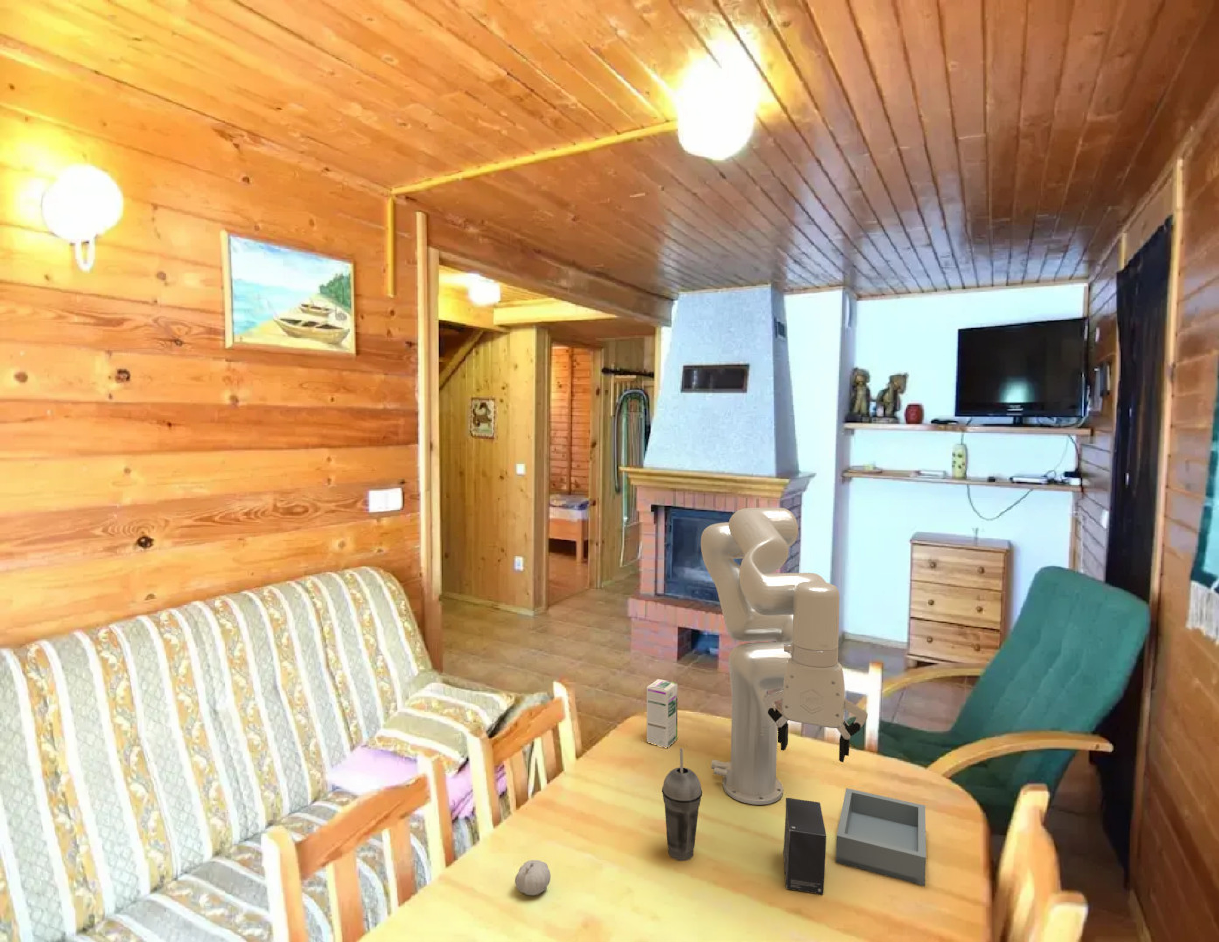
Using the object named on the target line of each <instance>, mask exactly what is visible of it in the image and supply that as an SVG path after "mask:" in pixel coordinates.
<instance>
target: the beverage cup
mask: <svg viewBox="0 0 1219 942" xmlns="http://www.w3.org/2000/svg"><path fill="white" fill-rule="evenodd" d="M661 792H662V797H663V798H662V800H663V803H664V812H665V828H666V829H665V830H666V842H667V849H668V855H669V856H670V858H671V859H674V860H675V861H676V860H677V861H682V862H683V861H687V860H691V859H692V858H693V856H694V849H695V846H696V844H695V843H696V842H695V841H696V834H697V825H698V817H699V807H700V805H701V802H702V796H703V790H702V784H701V781H700V779H699V777H698V775H697V774H696V773H695V772H694V771H693V770H691V769H690V768H688V767H684V748H681V747H680V749H679V767H675V768H673V769H672V770H670V771H669V773H667V775H666V776H665V778H664V780H663V784H662V788H661Z"/></svg>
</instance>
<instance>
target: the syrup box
mask: <svg viewBox="0 0 1219 942" xmlns="http://www.w3.org/2000/svg"><path fill="white" fill-rule="evenodd" d="M675 740H676V741H677V740H678V683H677V682H675V681H671V680H667V679H666V680H665V679H661V678H657V679H656V680H655V681H654V682H653V681H652V683H650V684H648V685H647V686H646V743H647V742H650V743H653V744H656V745H659V746H662V747H668V748H670V745H671V744H672V745H673V744H674V743H675V742H676V741H675ZM674 741H675V742H674ZM673 742H674V743H673ZM672 745H671V746H672ZM662 747H661V748H662Z"/></svg>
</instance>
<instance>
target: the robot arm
mask: <svg viewBox="0 0 1219 942" xmlns="http://www.w3.org/2000/svg"><path fill="white" fill-rule="evenodd" d="M798 525H799V523H798V521H797V518H796V516H795V515H794V513H793V512H792V511H790V510H789V509H787V508H785V507H746V508H742V509H739V510H737V511H735V512H734V513H733V514H732V515H731V516H730V518H729V521H728V522H726V521H725V522H719V523H718V522H717V523H713V524H710V525H708V526H707V527H706V528H705V529H704V530H703V531H702V533H701V537H700V549H701V555H702V560H703V563H704V565H705V568H706V571H707V572H708V574H709V576H710V578H711V580H712V581H713V583H714V585H715V588H716V591H717V595H718V600H719V604H720V608H721V612H722V615H723V620H724V625H725V627H726V630H727V633H728V635H729V637H731V639H732V640H734V641H738V642H746V643H743V644H739V645H736V646H735V647H734V648H733V649H732V650H730V653H729V655H728V662H727V663H728V673H729V680H730V687H731V731H730V734H731V735H730V736H731V737H730V738H731V739H730V761H726V762H723V761H721V760H717V759H711V764H710V765H711V767H710V768H711V770H713V775H717V776H722V777H723V779H722V788H723V790H724V792H725V793H726V794H727V795H728V796H729V797H731V799H734V800H736V801H738V802H740V803H743V804H748V805H755V806H756V805H757V806H762V805H770V804H773V803H776V802H778V801H779V800H780V799H781V798H782V797H783V794H784V785H783V783H782V782H781V781H780V780H779V779H778V778H777V754H778V750H777V749H778V743H779V744H780V751H783V752H784V751H786V749H787V747H788V743H789V723H788V722H789V721H790V722H794V723H799V724H807V725H810V726H811V725H812V726H817V727H821V728H829V729H836V730H837V731H838V732H839V734H840V735H839V736H840V737H839V741H838V742H839V745H838V747H839V749H838V751H839V753H838V761H840V762H841V763H844V761H845V759H846V758H845V757H847V756H848V757H849V756H850V738H852V737H853V736H854V735H856V733H858V732H860V730H861V728H862V727H863V725H864V724H865V722H866V721H867V719H868V716H869V715H868V712H867V711H865V710H863V709H862V708H861V707H859V706H858V705H856V704H855V703H853V702H852V701H849V700H848V699H847V698H846V688H845V685H846V684H845V677H844V670H843V666H842V664H841V663H840V662H839V637H840V635H839V634H840V633H839V631H840V630H839V629H840V628H839V627H840V591H839V589H838V587H837V586H836V585H834V584H831V583H830V582H826V580H825V579H824V578H823V577H822V576H821V575H820V574H818V573H813V572H778V573H777V571H778V570H779V569H781V568H782V567H783V565H784V564H785V563H786V561H787V560H788V557H789V554H790V553H789V550H790V549H789V548H790V547H791V546H793V545H794V543H795V542H796V541H797V539H798V534H799V526H798ZM735 559H736V560H737V559H738V560H740V559H742V560H741V561H740V562H741V563H740V564H738V563H737V562H736V561H735ZM775 572H776V573H775ZM747 642H748V643H747ZM777 689H778V691H775V692H772V693H769V694H768V693H767V692H768V691H771V690H777ZM778 701H781V712H780V711H779V709H778V708H777V705H776V704H775V702H778ZM846 711H847V712H849V713H850V714H852V715H853V716H854V717H856V718H855V720H854V721H853V722H851V723H848V722H847V721H846V719H845V717H846Z"/></svg>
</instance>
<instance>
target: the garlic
mask: <svg viewBox="0 0 1219 942" xmlns="http://www.w3.org/2000/svg"><path fill="white" fill-rule="evenodd" d="M550 882H551V871H550V869H549V867H548V864H547V863H546V862H545V861H543V860H539V859H529V860H527V861H525V862H524V863H523V865H521V866H520V867H519V869H518V872H517V873H516V875H515V878H514V883H515V884H514V885H515V887H516V889H517V890H518V891H519V892H520V893H522V894H525V895H527V896H537V895H540V894H541V893H542V892H544V891H546V890H547V888H548V886H549V884H550Z"/></svg>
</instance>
